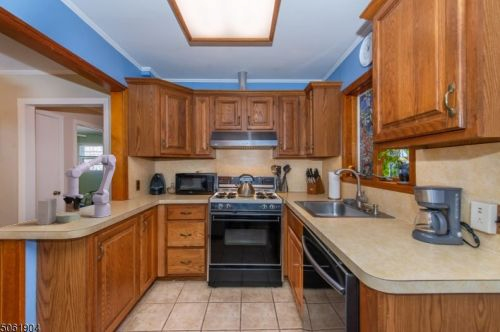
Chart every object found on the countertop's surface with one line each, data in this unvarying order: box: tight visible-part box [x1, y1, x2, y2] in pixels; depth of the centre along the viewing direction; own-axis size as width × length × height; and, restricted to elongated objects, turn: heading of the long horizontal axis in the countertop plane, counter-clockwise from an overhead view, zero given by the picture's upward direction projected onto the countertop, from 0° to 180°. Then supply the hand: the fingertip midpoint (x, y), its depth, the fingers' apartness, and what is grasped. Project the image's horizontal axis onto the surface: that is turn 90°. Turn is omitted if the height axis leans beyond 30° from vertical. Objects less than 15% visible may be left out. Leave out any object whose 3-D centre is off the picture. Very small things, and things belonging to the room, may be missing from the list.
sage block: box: [55, 212, 81, 223], centre depth 158 cm, size 10×10×4 cm
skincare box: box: [37, 198, 58, 226], centre depth 149 cm, size 8×6×15 cm
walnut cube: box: [65, 202, 80, 213], centre depth 153 cm, size 5×5×5 cm
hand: (72, 208), depth 153 cm, fingers closed on walnut cube, 5 cm apart
